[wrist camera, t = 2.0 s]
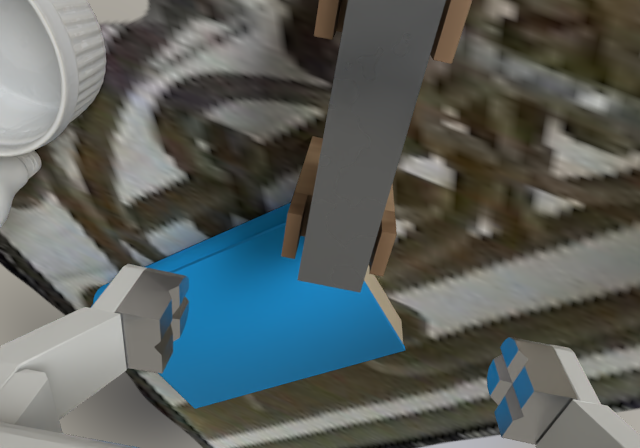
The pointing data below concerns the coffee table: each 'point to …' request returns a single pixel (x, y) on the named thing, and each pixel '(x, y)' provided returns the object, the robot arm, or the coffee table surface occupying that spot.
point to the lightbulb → (15, 178)
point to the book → (267, 317)
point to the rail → (365, 133)
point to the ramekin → (46, 69)
